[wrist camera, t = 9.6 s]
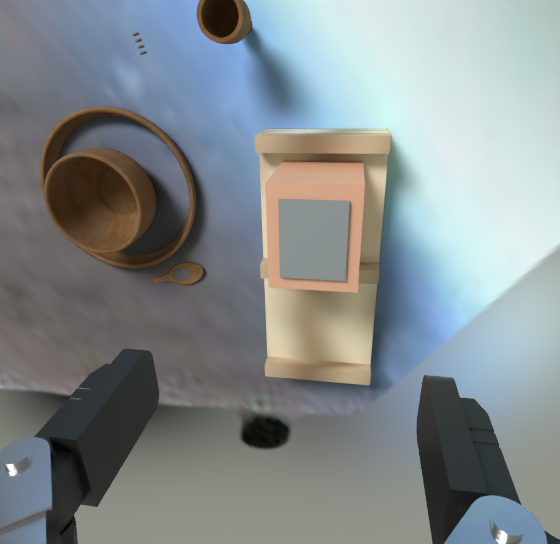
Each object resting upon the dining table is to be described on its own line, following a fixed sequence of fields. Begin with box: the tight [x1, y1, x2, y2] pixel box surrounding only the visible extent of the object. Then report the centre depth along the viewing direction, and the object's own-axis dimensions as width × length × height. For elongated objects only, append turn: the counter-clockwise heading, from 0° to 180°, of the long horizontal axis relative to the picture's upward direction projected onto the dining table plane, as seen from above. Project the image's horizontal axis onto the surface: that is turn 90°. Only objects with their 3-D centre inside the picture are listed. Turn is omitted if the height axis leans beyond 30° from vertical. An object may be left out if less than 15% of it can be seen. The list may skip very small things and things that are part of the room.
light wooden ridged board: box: [254, 129, 391, 385], centre depth 30 cm, size 8×18×3 cm, turn 1°
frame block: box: [265, 161, 365, 293], centre depth 25 cm, size 5×6×6 cm
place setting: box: [40, 0, 252, 285], centre depth 29 cm, size 18×20×6 cm
